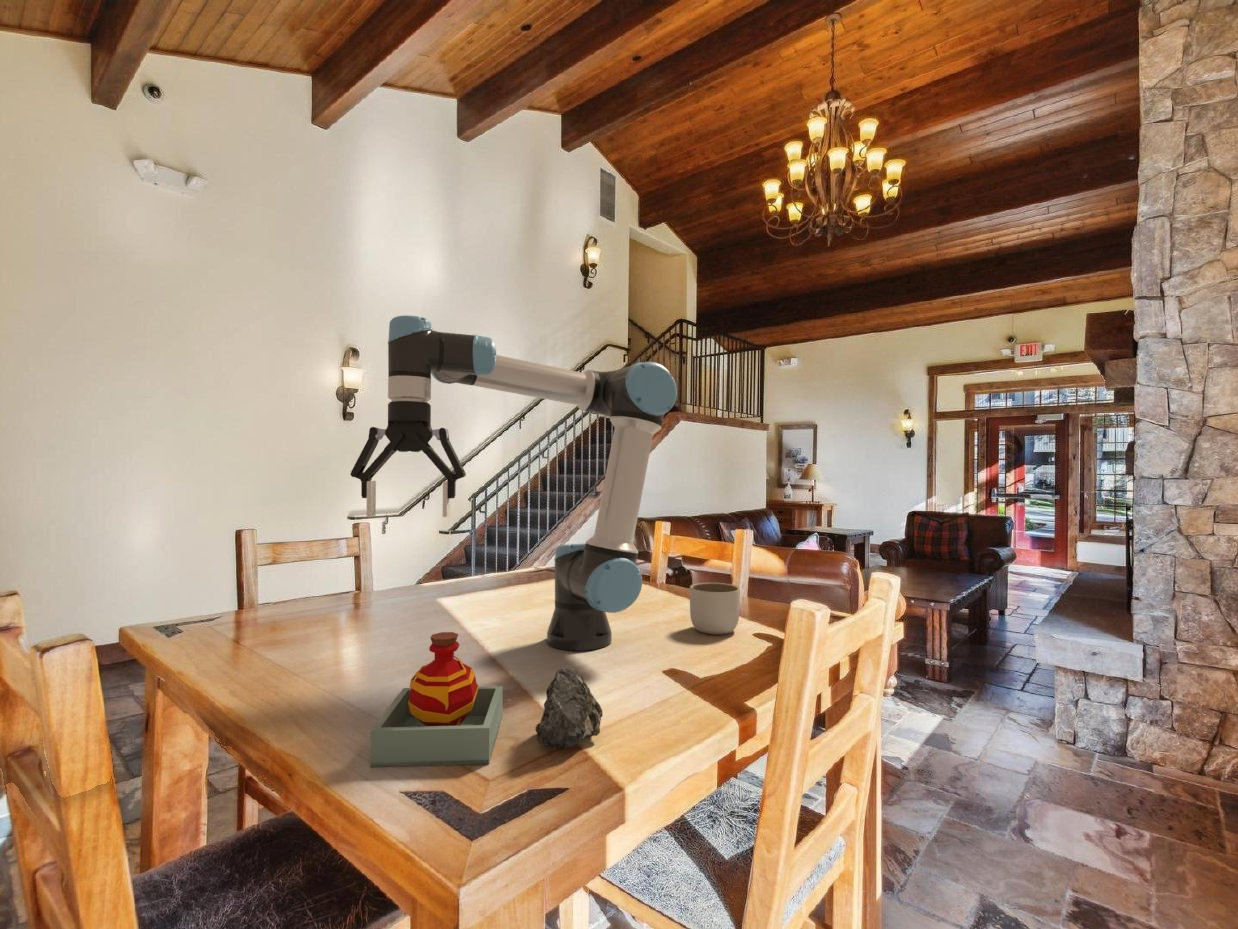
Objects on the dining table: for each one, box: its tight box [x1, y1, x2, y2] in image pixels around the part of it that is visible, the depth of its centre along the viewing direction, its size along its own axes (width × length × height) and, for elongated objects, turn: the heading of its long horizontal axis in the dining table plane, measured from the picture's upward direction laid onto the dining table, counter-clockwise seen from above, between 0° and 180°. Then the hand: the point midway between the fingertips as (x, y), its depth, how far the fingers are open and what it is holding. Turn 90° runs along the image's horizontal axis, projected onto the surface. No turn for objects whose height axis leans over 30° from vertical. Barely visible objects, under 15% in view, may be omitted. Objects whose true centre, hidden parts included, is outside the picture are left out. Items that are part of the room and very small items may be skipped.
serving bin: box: [369, 685, 504, 768], centre depth 92 cm, size 16×16×5 cm
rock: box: [535, 666, 603, 750], centre depth 93 cm, size 12×10×10 cm
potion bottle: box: [408, 631, 480, 726], centre depth 93 cm, size 10×10×15 cm
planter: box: [689, 582, 741, 636], centre depth 154 cm, size 12×12×11 cm
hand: (408, 516), depth 113 cm, fingers open, 13 cm apart
